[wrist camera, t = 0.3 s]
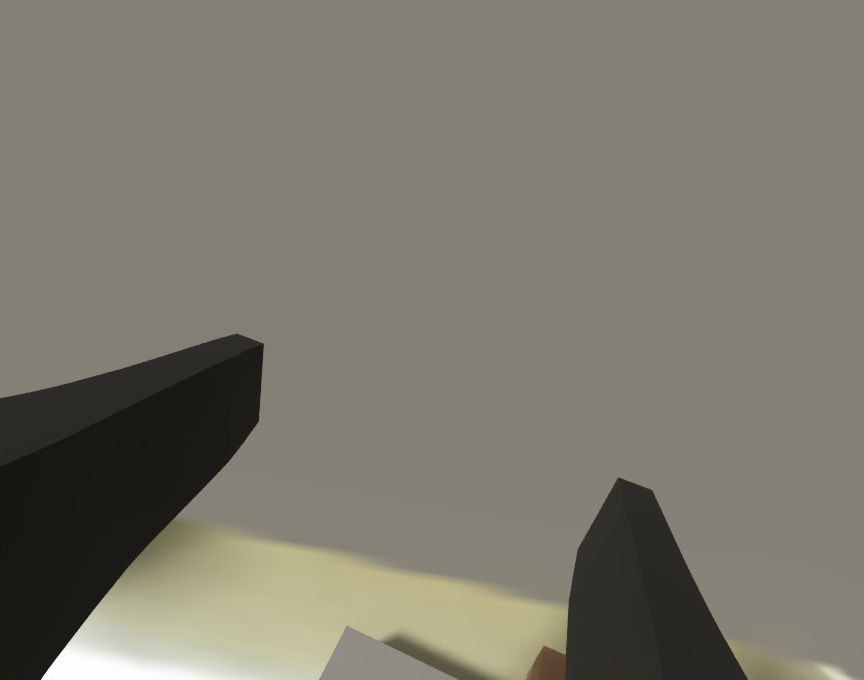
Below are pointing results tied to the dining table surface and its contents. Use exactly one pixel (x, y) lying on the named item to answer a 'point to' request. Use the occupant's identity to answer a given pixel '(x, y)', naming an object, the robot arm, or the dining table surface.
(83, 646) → the dining table surface
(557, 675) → the wooden blocks
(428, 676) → the grey rectangular bar
